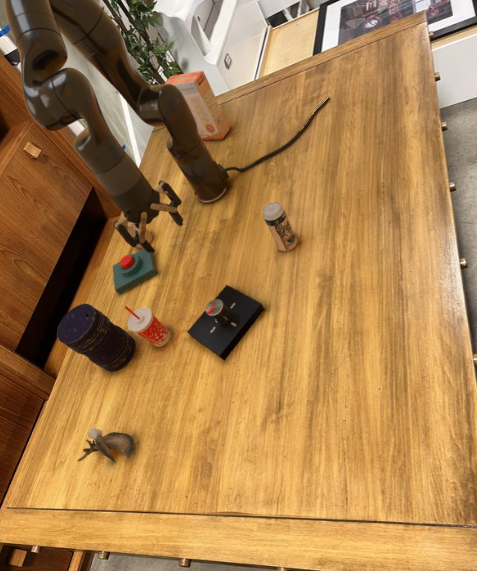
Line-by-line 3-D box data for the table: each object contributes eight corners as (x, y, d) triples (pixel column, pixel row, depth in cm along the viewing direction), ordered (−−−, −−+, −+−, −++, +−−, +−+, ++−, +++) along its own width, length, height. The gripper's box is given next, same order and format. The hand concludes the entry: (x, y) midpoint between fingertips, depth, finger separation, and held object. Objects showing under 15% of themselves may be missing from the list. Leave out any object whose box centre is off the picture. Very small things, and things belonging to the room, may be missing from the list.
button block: (152, 250, 111) (144, 241, 108) (157, 273, 105) (149, 264, 102) (117, 270, 113) (108, 261, 110) (119, 294, 106) (110, 286, 103)
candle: (149, 246, 113) (129, 223, 105) (134, 249, 115) (113, 226, 108) (154, 232, 116) (135, 208, 108) (139, 235, 118) (119, 212, 111)
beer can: (292, 253, 90) (276, 218, 81) (275, 250, 92) (257, 216, 84) (301, 237, 92) (286, 201, 83) (283, 235, 94) (267, 199, 85)
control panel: (230, 290, 91) (226, 284, 89) (265, 309, 84) (261, 302, 82) (192, 337, 87) (186, 331, 86) (224, 360, 81) (219, 355, 79)
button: (134, 256, 107) (130, 252, 106) (135, 265, 105) (131, 261, 103) (122, 263, 107) (119, 259, 106) (124, 271, 105) (120, 267, 104)
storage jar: (105, 380, 90) (58, 352, 79) (98, 349, 97) (54, 320, 86) (140, 356, 90) (98, 326, 79) (131, 327, 97) (92, 295, 86)
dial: (222, 307, 86) (213, 295, 82) (235, 314, 83) (226, 302, 80) (211, 321, 85) (201, 309, 81) (223, 328, 82) (213, 317, 79)
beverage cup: (177, 337, 89) (142, 305, 79) (156, 355, 89) (118, 325, 78) (166, 321, 93) (132, 289, 83) (146, 338, 93) (109, 308, 82)
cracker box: (231, 128, 133) (203, 69, 117) (222, 140, 130) (193, 81, 115) (201, 129, 141) (171, 74, 125) (192, 140, 138) (161, 85, 123)
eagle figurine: (87, 477, 76) (119, 474, 72) (68, 449, 75) (99, 444, 70) (111, 447, 83) (142, 443, 78) (94, 421, 81) (124, 415, 77)
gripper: (102, 211, 70) (151, 266, 81) (159, 160, 73) (198, 220, 84) (86, 200, 75) (134, 253, 86) (140, 152, 78) (180, 211, 89)
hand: (166, 237), depth 85 cm, fingers open, 8 cm apart
